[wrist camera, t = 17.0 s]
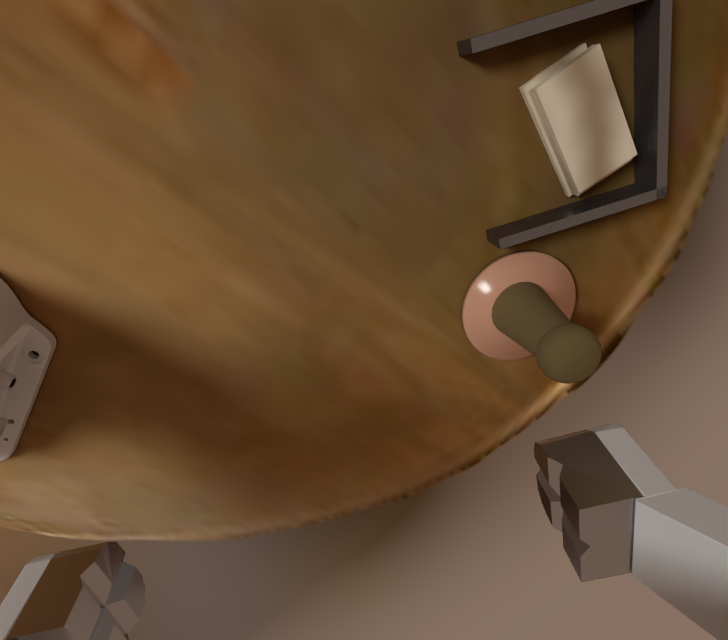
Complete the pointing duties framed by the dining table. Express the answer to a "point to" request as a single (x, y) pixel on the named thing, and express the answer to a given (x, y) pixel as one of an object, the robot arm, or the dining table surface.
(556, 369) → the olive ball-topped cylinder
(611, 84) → the offcut stack
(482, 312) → the pink round disc
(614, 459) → the robot arm
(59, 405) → the dining table surface
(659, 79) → the grey u-shaped frame
